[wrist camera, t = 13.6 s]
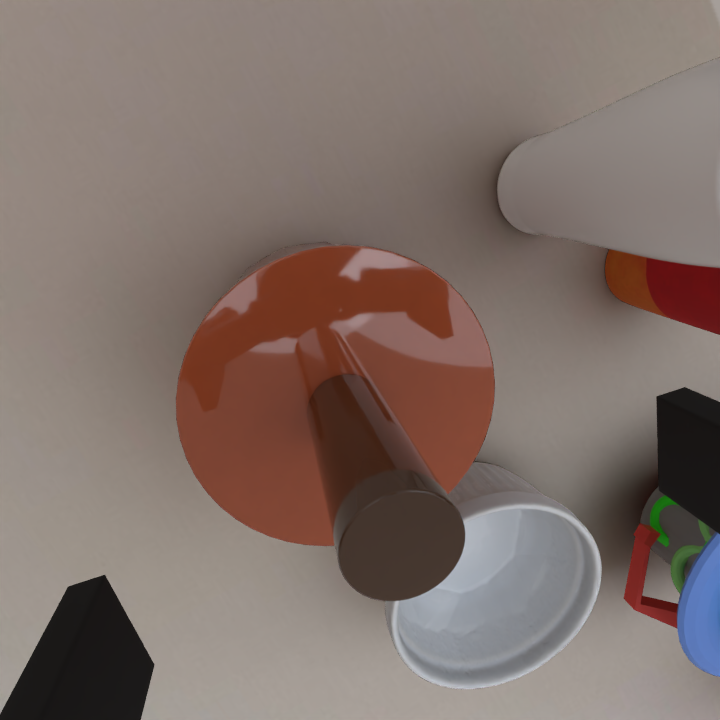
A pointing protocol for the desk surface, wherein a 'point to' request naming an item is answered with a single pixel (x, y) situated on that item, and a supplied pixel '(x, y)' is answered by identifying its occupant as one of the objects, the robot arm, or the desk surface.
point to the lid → (342, 410)
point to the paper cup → (667, 288)
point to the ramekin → (500, 587)
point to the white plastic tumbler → (628, 174)
